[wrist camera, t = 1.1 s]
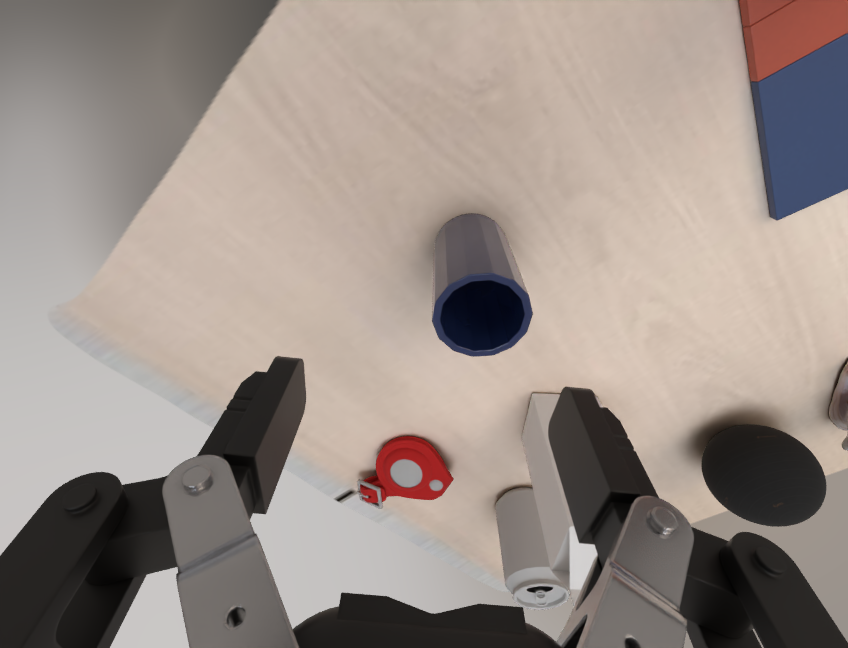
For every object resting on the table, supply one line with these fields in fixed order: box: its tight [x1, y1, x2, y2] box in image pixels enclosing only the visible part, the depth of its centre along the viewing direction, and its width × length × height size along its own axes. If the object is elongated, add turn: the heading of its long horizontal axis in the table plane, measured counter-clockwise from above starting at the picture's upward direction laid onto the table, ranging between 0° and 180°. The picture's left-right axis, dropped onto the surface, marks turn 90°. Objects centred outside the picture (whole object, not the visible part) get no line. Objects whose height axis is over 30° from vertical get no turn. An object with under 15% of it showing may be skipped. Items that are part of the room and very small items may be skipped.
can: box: [496, 487, 570, 610], centre depth 49 cm, size 8×8×12 cm
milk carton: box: [522, 393, 602, 606], centre depth 37 cm, size 7×7×19 cm
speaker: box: [702, 425, 826, 526], centre depth 42 cm, size 10×10×10 cm
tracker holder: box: [357, 436, 453, 509], centre depth 50 cm, size 12×4×10 cm
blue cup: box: [432, 214, 533, 357], centre depth 30 cm, size 6×6×11 cm
